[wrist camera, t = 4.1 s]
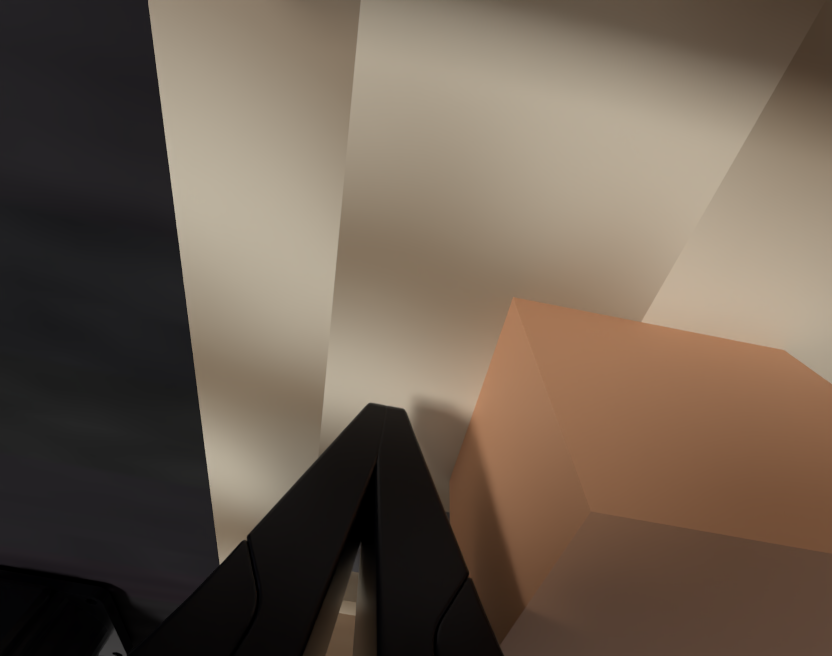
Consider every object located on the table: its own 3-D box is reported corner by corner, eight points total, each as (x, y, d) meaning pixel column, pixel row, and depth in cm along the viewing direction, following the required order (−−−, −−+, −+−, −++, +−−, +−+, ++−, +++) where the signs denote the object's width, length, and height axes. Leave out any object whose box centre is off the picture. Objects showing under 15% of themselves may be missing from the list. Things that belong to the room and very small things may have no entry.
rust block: (648, 516, 10) (772, 764, 6) (449, 481, 10) (452, 715, 6) (784, 350, 8) (1146, 609, 4) (513, 297, 7) (590, 510, 3)
